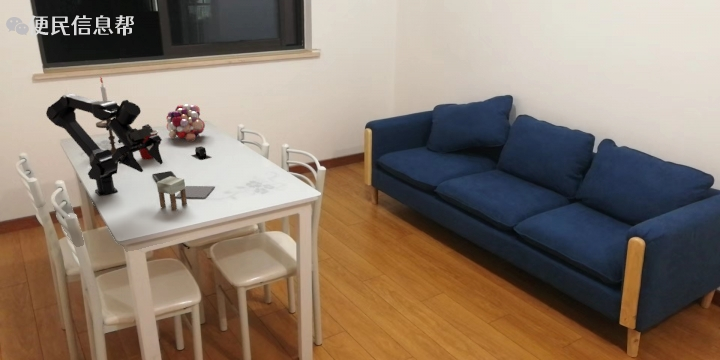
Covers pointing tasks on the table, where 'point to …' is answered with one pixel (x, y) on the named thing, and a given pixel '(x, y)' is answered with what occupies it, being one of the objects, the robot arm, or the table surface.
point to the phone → (163, 175)
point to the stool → (171, 190)
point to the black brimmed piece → (200, 153)
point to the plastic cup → (144, 152)
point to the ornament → (185, 122)
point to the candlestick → (104, 123)
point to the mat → (197, 191)
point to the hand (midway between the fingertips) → (152, 167)
